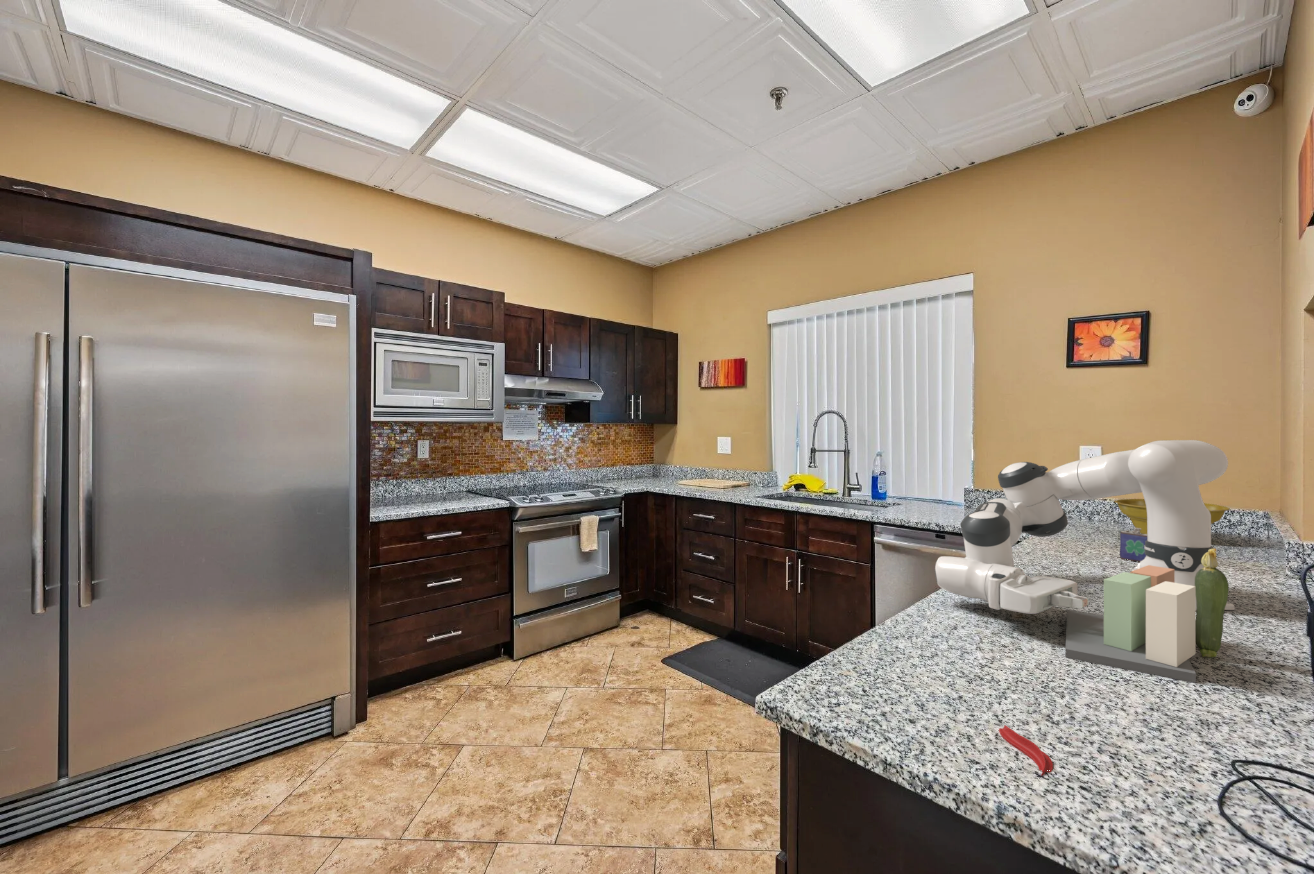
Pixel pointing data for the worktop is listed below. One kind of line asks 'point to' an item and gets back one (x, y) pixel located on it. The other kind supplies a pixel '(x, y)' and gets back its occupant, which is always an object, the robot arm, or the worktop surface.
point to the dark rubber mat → (1114, 649)
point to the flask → (1132, 545)
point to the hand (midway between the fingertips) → (1085, 603)
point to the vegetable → (1210, 605)
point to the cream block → (1170, 623)
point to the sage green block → (1125, 610)
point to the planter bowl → (1139, 512)
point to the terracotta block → (1157, 574)
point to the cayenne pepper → (1027, 749)
